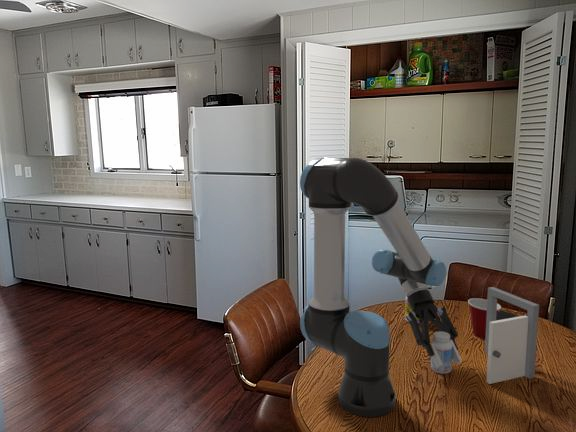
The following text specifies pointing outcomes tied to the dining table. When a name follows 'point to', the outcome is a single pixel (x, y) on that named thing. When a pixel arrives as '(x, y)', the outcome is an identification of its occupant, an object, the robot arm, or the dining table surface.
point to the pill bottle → (442, 352)
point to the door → (507, 349)
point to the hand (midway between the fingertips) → (448, 364)
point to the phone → (504, 315)
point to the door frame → (532, 323)
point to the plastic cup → (479, 316)
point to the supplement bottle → (408, 310)
